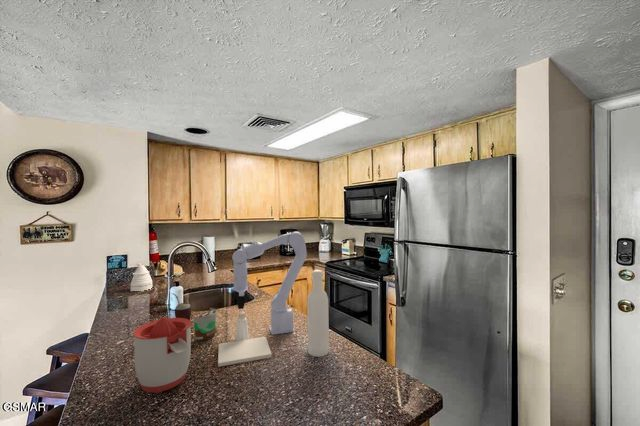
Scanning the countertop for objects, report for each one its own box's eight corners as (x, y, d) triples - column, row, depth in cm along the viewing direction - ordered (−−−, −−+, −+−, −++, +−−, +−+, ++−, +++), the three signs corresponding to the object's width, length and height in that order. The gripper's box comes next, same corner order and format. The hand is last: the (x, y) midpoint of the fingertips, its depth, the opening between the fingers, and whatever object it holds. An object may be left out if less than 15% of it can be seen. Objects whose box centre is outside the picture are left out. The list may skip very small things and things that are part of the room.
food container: (207, 343, 112) (206, 318, 112) (193, 342, 113) (192, 317, 113) (223, 331, 124) (223, 308, 124) (210, 330, 125) (210, 307, 125)
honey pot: (125, 291, 190) (125, 264, 190) (140, 286, 203) (140, 261, 203) (142, 292, 188) (142, 265, 188) (156, 287, 201) (156, 261, 201)
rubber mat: (265, 339, 115) (265, 336, 115) (271, 357, 101) (271, 353, 101) (218, 346, 109) (218, 343, 109) (218, 366, 95) (218, 363, 95)
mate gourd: (191, 317, 141) (191, 287, 141) (189, 323, 133) (189, 291, 133) (175, 319, 138) (174, 288, 138) (172, 325, 131) (171, 293, 131)
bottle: (304, 354, 102) (303, 272, 102) (312, 345, 109) (311, 268, 109) (324, 358, 99) (323, 273, 99) (332, 348, 106) (331, 269, 106)
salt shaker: (236, 343, 112) (236, 315, 112) (234, 338, 116) (233, 311, 116) (250, 340, 114) (250, 313, 114) (247, 335, 119) (247, 309, 119)
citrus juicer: (154, 408, 75) (153, 333, 75) (123, 387, 84) (122, 320, 84) (206, 378, 88) (205, 314, 88) (174, 363, 97) (173, 305, 97)
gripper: (230, 274, 128) (230, 304, 128) (231, 281, 114) (231, 315, 114) (246, 273, 130) (246, 302, 130) (249, 280, 116) (249, 312, 116)
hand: (240, 308), depth 122 cm, fingers closed
